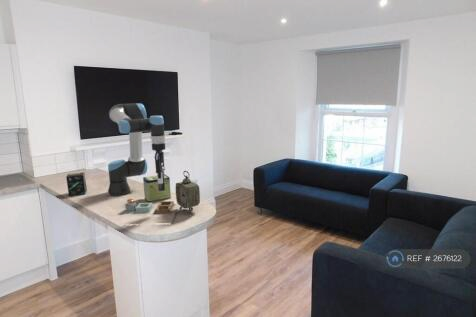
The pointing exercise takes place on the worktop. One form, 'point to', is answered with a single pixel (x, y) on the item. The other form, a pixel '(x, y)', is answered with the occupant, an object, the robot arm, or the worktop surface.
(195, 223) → the worktop surface
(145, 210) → the socket block
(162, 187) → the dark grey cylinder
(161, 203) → the tray
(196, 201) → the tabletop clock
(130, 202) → the release plunger
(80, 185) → the tampon box
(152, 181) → the protein box
